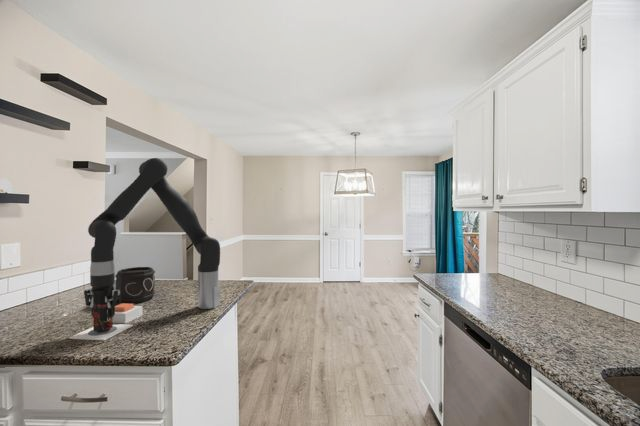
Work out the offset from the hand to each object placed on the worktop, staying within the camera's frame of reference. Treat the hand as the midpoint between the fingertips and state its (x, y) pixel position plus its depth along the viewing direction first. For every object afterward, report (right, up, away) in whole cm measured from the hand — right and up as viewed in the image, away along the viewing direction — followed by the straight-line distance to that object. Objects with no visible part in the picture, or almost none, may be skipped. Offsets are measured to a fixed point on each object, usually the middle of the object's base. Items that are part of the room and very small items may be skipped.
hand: (103, 316), depth 116 cm
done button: (-1, -3, +14) cm, 15 cm away
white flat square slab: (0, -6, 0) cm, 6 cm away
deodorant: (0, -5, 0) cm, 5 cm away
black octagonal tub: (-13, -6, +43) cm, 45 cm away
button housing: (-1, -6, +14) cm, 15 cm away
